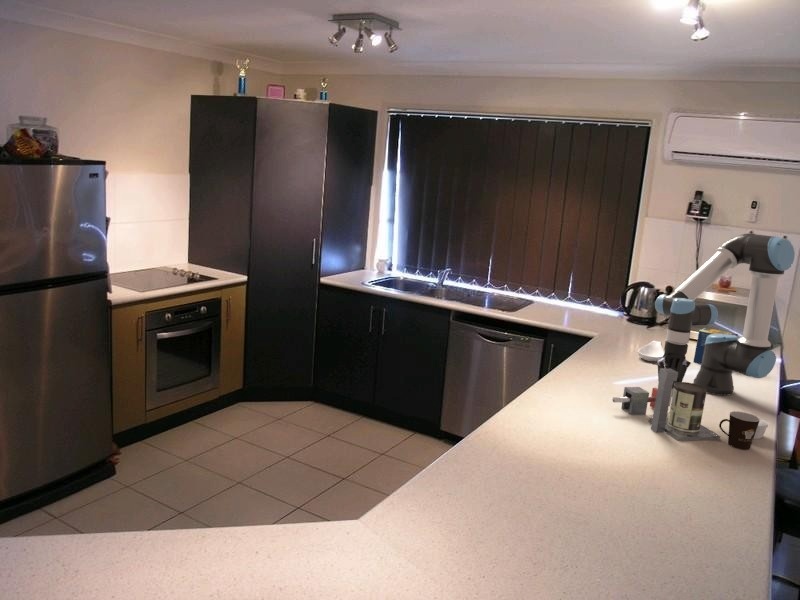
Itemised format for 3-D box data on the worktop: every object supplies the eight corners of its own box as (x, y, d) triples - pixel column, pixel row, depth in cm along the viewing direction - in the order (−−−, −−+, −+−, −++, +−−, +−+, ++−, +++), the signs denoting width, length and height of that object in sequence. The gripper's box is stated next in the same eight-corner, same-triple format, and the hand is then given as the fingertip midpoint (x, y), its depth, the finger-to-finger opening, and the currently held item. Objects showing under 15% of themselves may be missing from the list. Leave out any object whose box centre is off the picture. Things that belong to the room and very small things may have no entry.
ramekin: (764, 432, 227) (767, 418, 226) (766, 443, 217) (769, 428, 216) (728, 425, 232) (730, 410, 231) (728, 435, 222) (731, 420, 221)
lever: (652, 405, 243) (655, 387, 242) (666, 414, 236) (669, 395, 234) (606, 406, 238) (609, 387, 237) (618, 414, 231) (621, 395, 229)
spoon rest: (661, 365, 302) (663, 350, 300) (634, 360, 307) (636, 345, 306) (669, 355, 322) (671, 341, 321) (643, 350, 328) (646, 336, 326)
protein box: (697, 358, 320) (703, 327, 317) (732, 365, 311) (738, 334, 308) (692, 362, 312) (698, 330, 309) (728, 370, 303) (734, 337, 300)
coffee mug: (751, 443, 216) (757, 414, 214) (756, 453, 208) (762, 423, 206) (712, 436, 220) (718, 407, 218) (715, 445, 212) (721, 416, 210)
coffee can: (696, 423, 227) (703, 384, 224) (703, 434, 217) (710, 393, 214) (664, 418, 229) (671, 379, 226) (670, 429, 219) (677, 389, 216)
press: (666, 408, 244) (676, 353, 239) (720, 439, 217) (731, 378, 213) (620, 408, 239) (628, 352, 235) (668, 440, 212) (679, 378, 208)
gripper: (685, 339, 240) (674, 401, 245) (654, 338, 237) (644, 401, 241) (699, 345, 233) (688, 408, 238) (667, 344, 230) (656, 408, 234)
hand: (665, 404), depth 239 cm, fingers closed
